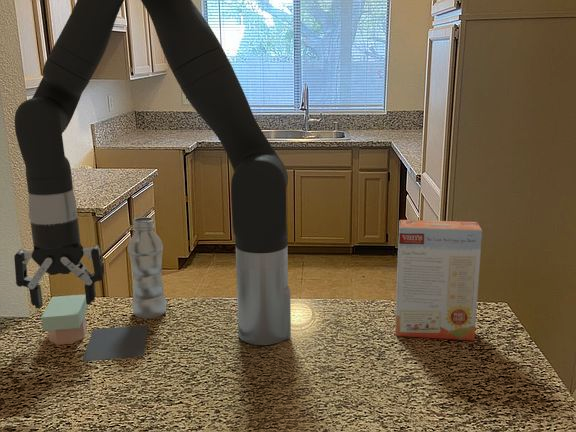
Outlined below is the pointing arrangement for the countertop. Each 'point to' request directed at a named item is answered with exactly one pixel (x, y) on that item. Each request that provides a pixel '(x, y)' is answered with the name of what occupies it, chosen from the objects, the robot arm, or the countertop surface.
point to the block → (64, 312)
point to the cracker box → (437, 279)
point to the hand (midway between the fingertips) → (64, 304)
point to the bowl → (68, 334)
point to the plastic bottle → (146, 270)
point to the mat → (116, 343)
